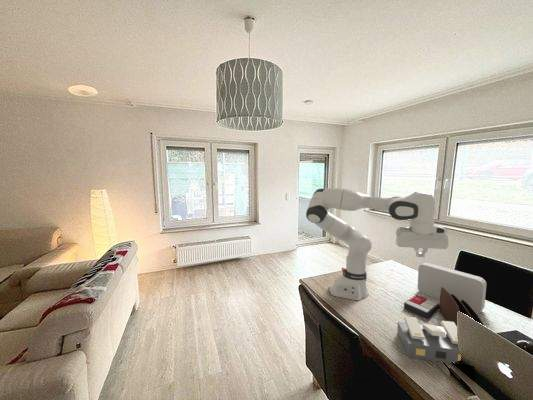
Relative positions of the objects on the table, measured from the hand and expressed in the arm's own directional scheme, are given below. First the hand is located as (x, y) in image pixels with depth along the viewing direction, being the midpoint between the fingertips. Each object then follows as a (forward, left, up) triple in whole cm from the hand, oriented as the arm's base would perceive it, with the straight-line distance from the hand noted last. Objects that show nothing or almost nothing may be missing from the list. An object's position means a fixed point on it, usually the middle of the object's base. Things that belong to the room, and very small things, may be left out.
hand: (420, 256), depth 101 cm
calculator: (+7, +14, -35) cm, 38 cm away
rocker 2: (0, -15, -26) cm, 30 cm away
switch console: (0, -15, -34) cm, 37 cm away
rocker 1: (-7, -15, -26) cm, 30 cm away
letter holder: (+20, +5, -34) cm, 40 cm away
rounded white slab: (+25, +25, -34) cm, 49 cm away
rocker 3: (+7, -15, -26) cm, 30 cm away
